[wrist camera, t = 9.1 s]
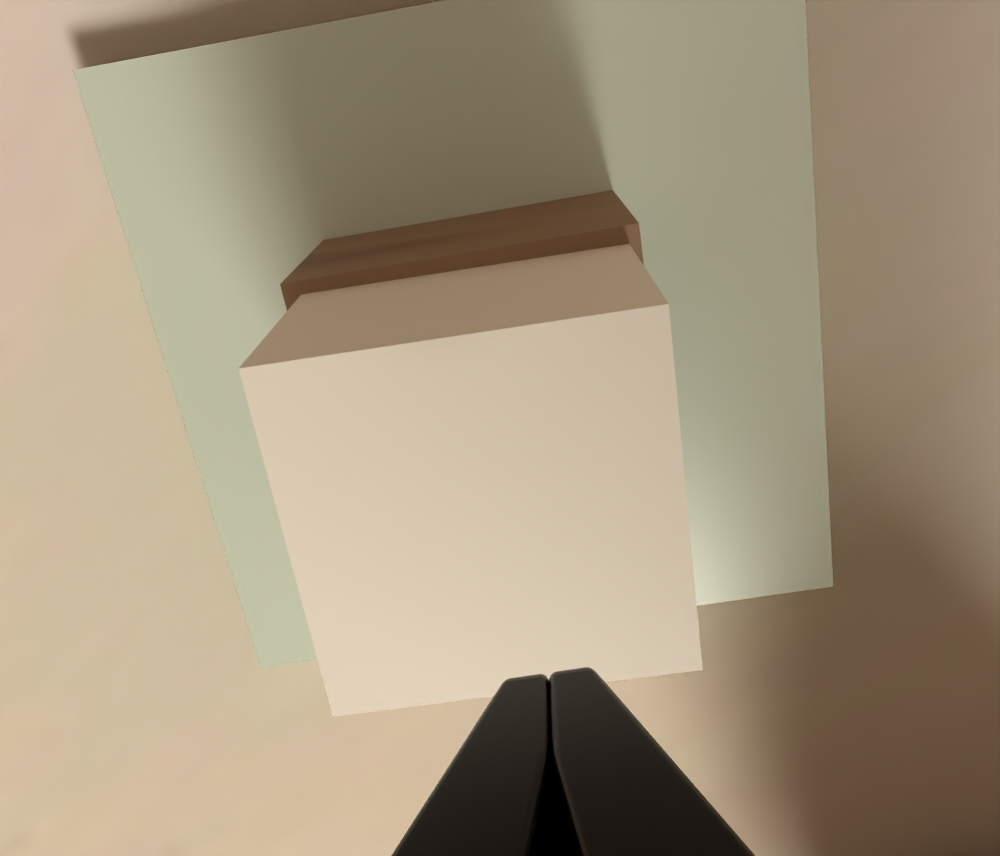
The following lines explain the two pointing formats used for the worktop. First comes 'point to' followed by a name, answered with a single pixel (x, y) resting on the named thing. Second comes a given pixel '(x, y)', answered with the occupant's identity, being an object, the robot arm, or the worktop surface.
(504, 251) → the brick walnut
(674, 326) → the baseplate
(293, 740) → the worktop surface
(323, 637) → the brick cream
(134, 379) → the worktop surface
